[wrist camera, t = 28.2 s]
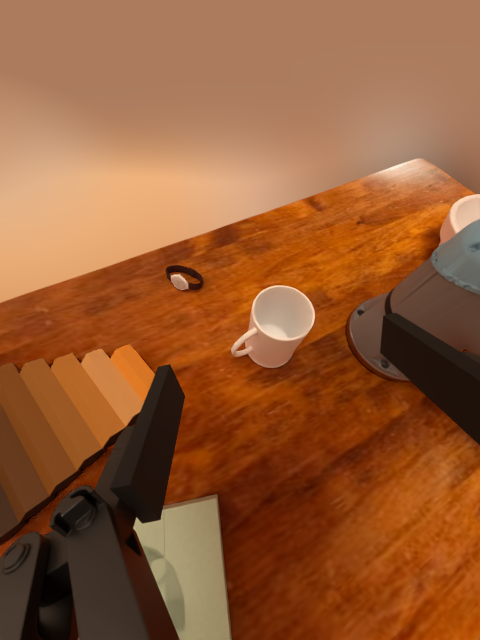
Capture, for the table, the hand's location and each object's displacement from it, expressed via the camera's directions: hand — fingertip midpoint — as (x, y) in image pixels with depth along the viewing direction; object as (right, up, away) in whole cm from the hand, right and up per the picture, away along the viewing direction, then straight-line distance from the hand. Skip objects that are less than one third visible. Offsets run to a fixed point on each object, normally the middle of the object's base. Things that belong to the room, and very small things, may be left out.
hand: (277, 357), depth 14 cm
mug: (+1, -3, +25) cm, 25 cm away
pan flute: (-31, -9, +21) cm, 38 cm away
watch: (-13, +10, +31) cm, 35 cm away
